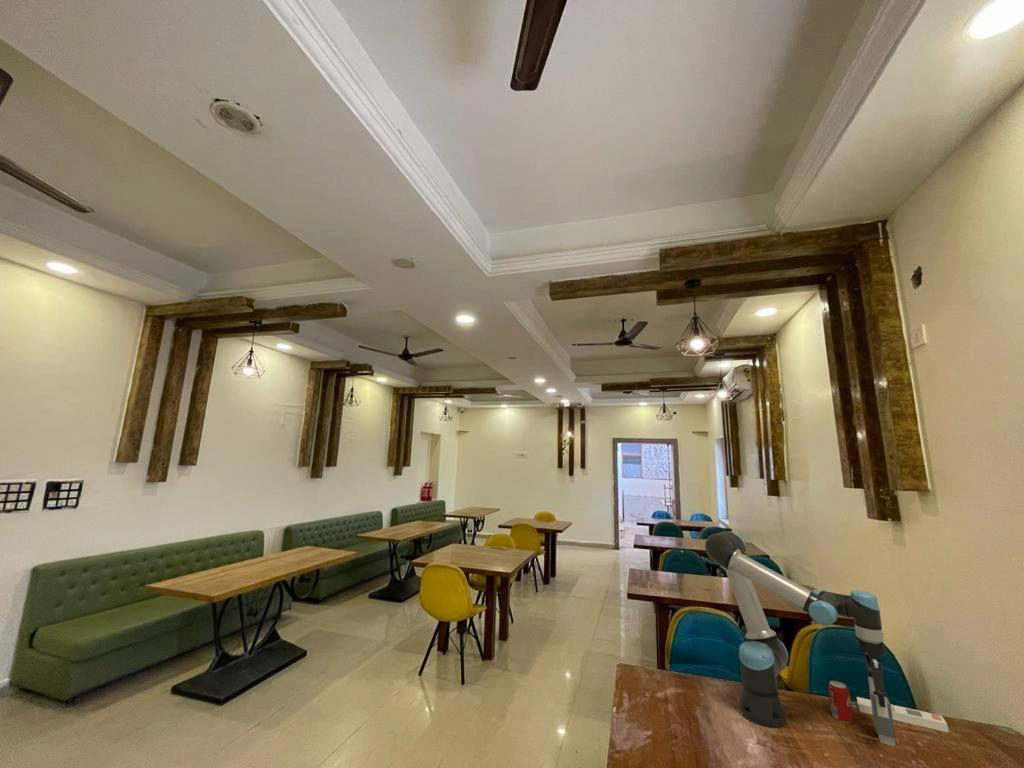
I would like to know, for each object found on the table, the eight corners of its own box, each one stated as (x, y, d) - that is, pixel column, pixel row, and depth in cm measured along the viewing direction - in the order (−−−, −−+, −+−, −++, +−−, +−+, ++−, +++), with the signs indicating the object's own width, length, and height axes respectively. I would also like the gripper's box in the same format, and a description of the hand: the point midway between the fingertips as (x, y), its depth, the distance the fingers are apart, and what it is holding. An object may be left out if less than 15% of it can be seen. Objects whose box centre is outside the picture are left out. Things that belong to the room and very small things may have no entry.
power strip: (850, 712, 158) (848, 699, 159) (848, 704, 163) (846, 692, 164) (949, 735, 144) (946, 722, 145) (943, 726, 149) (941, 713, 150)
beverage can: (858, 726, 149) (852, 689, 152) (838, 724, 150) (832, 687, 153) (847, 716, 155) (842, 680, 158) (828, 714, 156) (823, 679, 159)
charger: (897, 747, 138) (890, 704, 141) (878, 742, 140) (871, 700, 143) (894, 739, 142) (887, 697, 145) (876, 735, 144) (869, 693, 147)
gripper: (891, 655, 135) (902, 729, 131) (877, 630, 156) (886, 694, 152) (861, 649, 139) (871, 721, 135) (851, 626, 160) (859, 687, 156)
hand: (879, 707), depth 144 cm, fingers open, 13 cm apart
